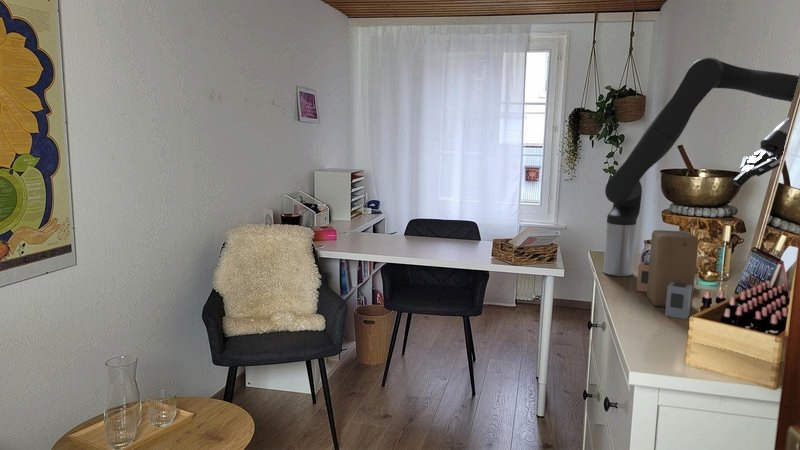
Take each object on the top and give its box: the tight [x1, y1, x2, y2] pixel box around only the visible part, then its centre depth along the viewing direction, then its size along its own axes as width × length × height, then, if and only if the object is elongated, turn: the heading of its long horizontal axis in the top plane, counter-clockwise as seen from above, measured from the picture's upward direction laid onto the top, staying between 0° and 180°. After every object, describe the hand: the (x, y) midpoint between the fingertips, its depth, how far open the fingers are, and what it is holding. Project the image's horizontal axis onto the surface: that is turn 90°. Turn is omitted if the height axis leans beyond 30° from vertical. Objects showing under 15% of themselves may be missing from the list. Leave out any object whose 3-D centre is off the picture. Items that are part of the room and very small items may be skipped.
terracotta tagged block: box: [636, 261, 650, 293], centre depth 174 cm, size 5×5×8 cm
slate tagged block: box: [664, 282, 692, 320], centre depth 150 cm, size 5×5×8 cm
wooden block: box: [646, 229, 699, 309], centre depth 160 cm, size 10×10×20 cm
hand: (736, 183), depth 157 cm, fingers closed
